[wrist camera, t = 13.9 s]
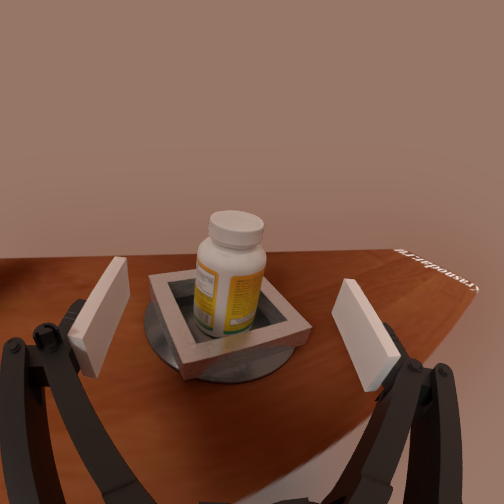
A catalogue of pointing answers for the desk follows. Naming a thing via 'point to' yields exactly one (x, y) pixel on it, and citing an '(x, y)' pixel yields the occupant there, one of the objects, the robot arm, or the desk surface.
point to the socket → (220, 349)
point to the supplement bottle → (229, 274)
